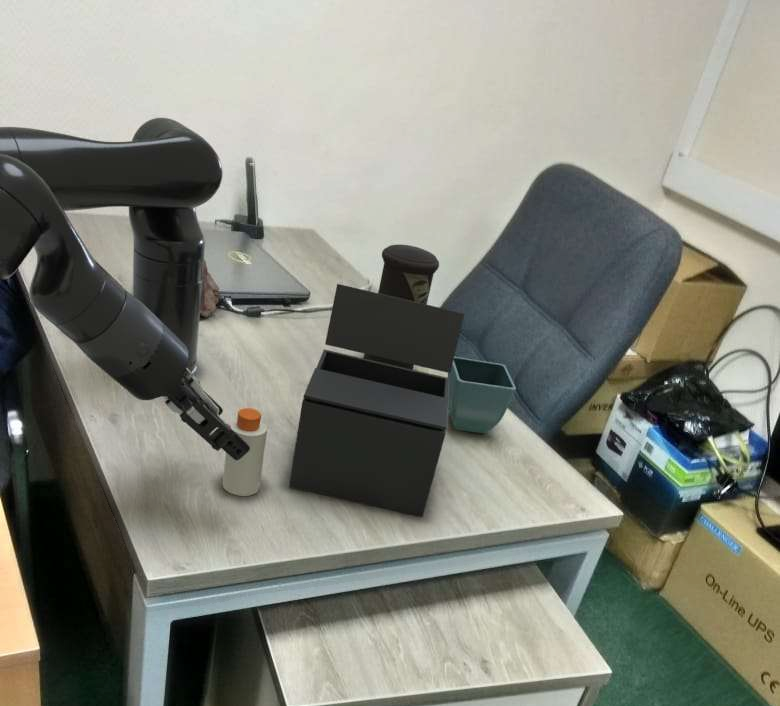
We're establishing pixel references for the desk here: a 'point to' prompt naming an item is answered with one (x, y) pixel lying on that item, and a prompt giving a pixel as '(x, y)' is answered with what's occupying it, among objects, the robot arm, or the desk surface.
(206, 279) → the mineral specimen
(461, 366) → the flower pot
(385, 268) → the container
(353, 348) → the flap
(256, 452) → the orange-capped white cylinder
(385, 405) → the carton
